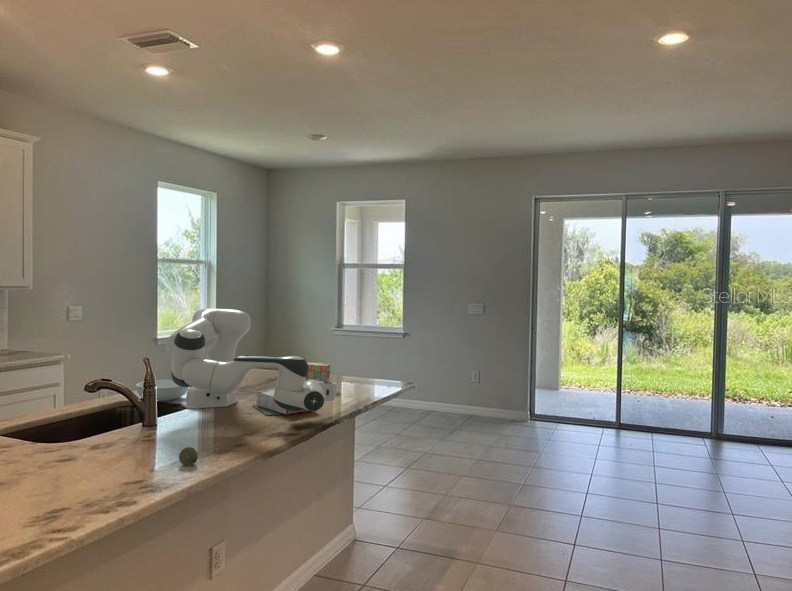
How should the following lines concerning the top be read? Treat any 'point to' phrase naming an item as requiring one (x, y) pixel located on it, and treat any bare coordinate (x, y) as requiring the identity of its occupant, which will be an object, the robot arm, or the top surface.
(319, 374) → the stack of blocks
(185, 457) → the lime
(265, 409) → the mat
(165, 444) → the top surface
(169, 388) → the serving bowl
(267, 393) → the cracker box
